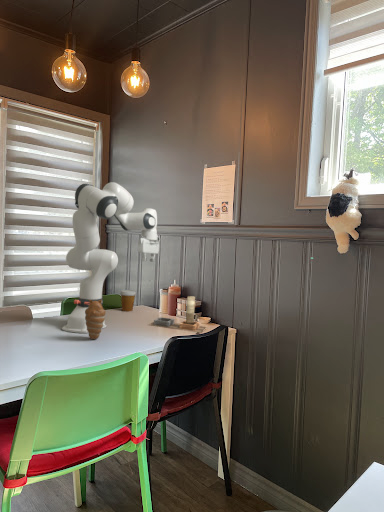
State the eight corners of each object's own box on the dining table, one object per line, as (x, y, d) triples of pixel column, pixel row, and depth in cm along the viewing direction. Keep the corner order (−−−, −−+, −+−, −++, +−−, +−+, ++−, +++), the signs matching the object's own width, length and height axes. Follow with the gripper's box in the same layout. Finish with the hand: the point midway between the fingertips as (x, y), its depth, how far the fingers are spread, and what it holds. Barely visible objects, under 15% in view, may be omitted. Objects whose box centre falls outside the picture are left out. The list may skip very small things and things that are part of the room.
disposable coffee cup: (130, 308, 241) (130, 289, 240) (138, 311, 234) (139, 291, 233) (116, 309, 235) (117, 290, 234) (124, 312, 228) (125, 292, 227)
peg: (192, 329, 194) (193, 298, 193) (184, 328, 195) (186, 297, 194) (194, 327, 198) (196, 296, 197) (186, 326, 199) (188, 296, 198)
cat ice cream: (83, 342, 166) (85, 301, 165) (83, 336, 173) (85, 297, 172) (104, 341, 168) (106, 301, 167) (103, 336, 176) (105, 297, 175)
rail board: (199, 334, 189) (199, 327, 188) (147, 327, 197) (147, 320, 197) (205, 329, 200) (206, 322, 200) (156, 322, 208) (156, 315, 208)
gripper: (145, 235, 207) (144, 261, 207) (161, 238, 226) (160, 261, 226) (135, 235, 209) (134, 260, 209) (151, 238, 228) (150, 261, 228)
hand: (148, 261), depth 218 cm, fingers open, 8 cm apart
